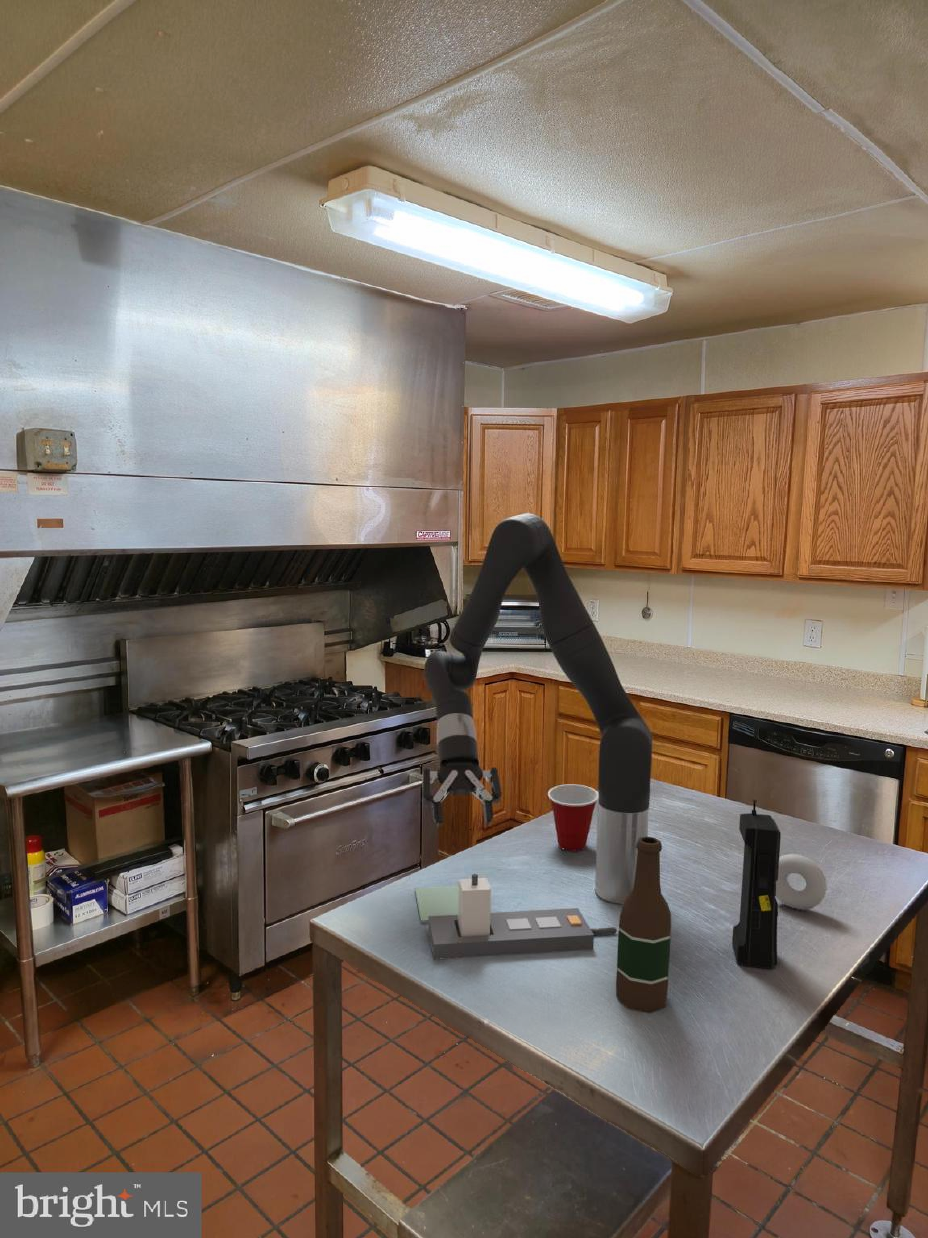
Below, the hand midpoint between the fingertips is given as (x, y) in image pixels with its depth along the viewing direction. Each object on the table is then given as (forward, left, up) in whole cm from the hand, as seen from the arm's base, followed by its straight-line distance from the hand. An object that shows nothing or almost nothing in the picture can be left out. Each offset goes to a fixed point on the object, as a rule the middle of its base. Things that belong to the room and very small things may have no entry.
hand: (464, 824), depth 139 cm
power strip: (-9, +12, -15) cm, 21 cm away
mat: (+2, -1, -15) cm, 16 cm away
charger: (0, +12, -16) cm, 19 cm away
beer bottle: (-22, +30, -16) cm, 40 cm away
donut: (-60, +7, -16) cm, 62 cm away
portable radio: (-44, +22, -16) cm, 52 cm away
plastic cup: (-27, -24, -16) cm, 40 cm away
